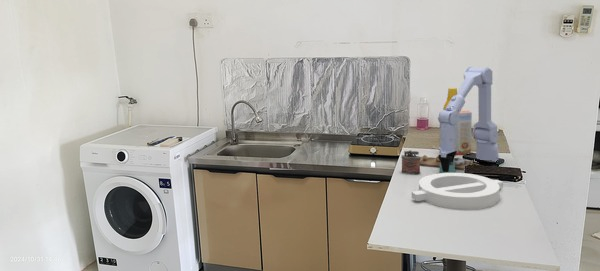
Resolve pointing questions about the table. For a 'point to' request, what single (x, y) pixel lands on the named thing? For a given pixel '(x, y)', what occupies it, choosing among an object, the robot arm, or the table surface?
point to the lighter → (410, 163)
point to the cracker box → (462, 133)
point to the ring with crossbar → (458, 190)
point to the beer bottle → (450, 95)
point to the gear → (451, 168)
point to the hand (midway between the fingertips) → (447, 169)
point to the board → (436, 162)
